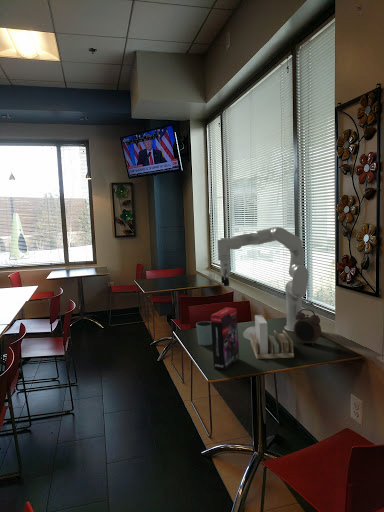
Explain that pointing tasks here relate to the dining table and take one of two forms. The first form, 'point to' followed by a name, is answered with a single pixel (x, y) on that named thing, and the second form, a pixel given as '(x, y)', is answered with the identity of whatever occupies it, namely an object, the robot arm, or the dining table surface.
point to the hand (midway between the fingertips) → (225, 284)
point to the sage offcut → (274, 345)
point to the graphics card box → (225, 338)
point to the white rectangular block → (261, 334)
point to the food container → (249, 332)
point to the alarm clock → (307, 327)
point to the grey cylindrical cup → (204, 333)
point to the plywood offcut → (284, 343)
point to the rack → (270, 347)
